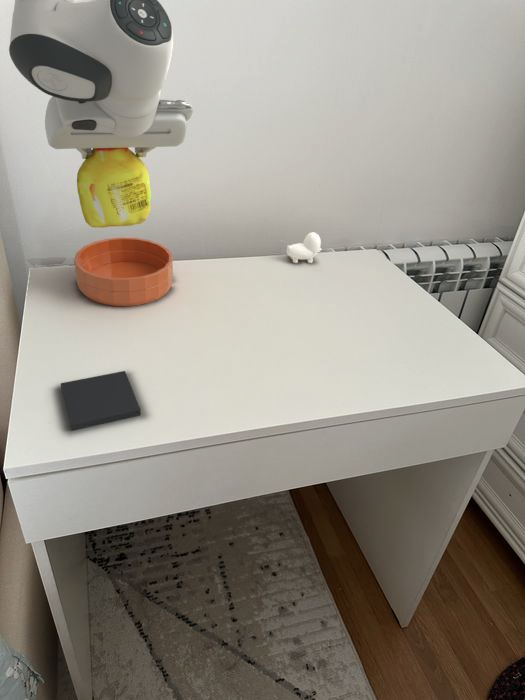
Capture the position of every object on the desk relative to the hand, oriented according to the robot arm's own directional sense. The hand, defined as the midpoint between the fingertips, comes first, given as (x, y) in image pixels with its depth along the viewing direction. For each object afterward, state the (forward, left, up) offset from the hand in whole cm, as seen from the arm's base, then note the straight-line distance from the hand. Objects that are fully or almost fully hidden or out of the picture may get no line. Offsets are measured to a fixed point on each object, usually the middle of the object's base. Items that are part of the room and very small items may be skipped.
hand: (113, 154), depth 86 cm
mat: (-10, -31, -24) cm, 41 cm away
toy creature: (+39, +1, -24) cm, 46 cm away
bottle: (0, -1, -12) cm, 12 cm away
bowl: (+1, +1, -24) cm, 24 cm away
